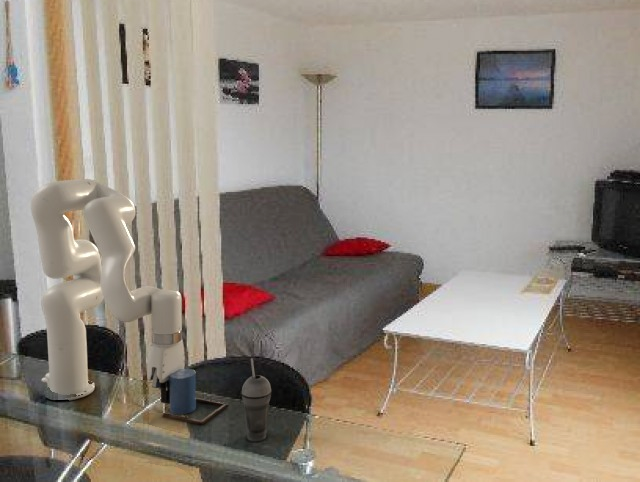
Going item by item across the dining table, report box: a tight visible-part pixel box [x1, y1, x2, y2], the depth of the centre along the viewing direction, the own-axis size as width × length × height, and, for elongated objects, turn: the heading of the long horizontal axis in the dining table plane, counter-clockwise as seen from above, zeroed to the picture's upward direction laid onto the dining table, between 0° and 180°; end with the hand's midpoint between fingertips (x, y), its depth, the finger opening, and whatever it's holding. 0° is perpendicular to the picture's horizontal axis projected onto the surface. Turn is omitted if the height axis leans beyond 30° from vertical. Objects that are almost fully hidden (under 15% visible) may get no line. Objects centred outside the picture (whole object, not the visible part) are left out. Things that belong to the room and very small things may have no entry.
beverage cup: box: [240, 357, 273, 442], centre depth 148 cm, size 7×7×20 cm
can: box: [169, 368, 197, 416], centre depth 162 cm, size 7×7×10 cm
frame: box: [162, 397, 229, 426], centre depth 161 cm, size 12×12×1 cm
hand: (167, 401), depth 164 cm, fingers closed
